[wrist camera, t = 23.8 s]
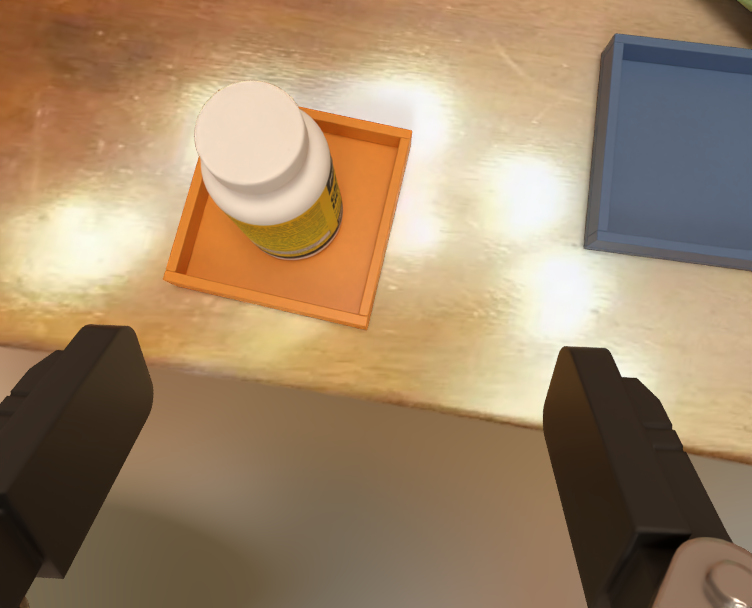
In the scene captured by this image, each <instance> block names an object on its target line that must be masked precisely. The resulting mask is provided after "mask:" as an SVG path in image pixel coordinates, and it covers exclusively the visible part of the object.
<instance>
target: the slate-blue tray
mask: <svg viewBox="0 0 752 608" xmlns="http://www.w3.org/2000/svg"><path fill="white" fill-rule="evenodd" d="M584 249H591V250H598V251H606V252H613V253H621V254H628V255H636V256H643V257H651V258H658V259H666V260H673V261H681V262H688V263H696V264H703V265H711V266H718V267H726V268H733V269H741V270H748V271H752V49H744V48H736V47H727V46H719V45H710V44H702V43H693V42H685V41H676V40H668V39H659V38H651V37H642V36H634V35H625V34H617V33H615V34H614V36H613V37H612V39H611V40H610V42H609V43H608V45H607V46H606V48H605V50H604V51H603V53H602V56H601V67H600V78H599V89H598V100H597V111H596V121H595V132H594V143H593V154H592V165H591V176H590V187H589V198H588V209H587V220H586V231H585V242H584Z"/></svg>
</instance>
